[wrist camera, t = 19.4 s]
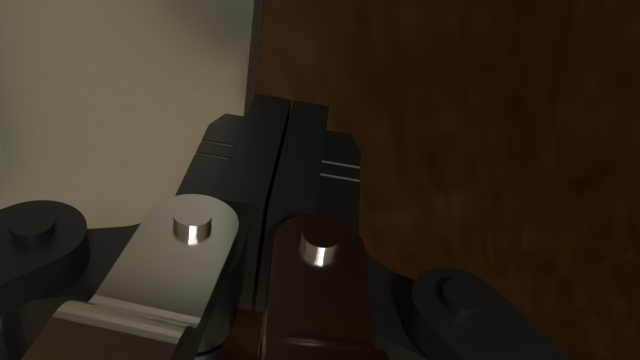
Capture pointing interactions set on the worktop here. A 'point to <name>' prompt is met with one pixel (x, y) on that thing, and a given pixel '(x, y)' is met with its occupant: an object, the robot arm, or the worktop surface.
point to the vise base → (116, 97)
